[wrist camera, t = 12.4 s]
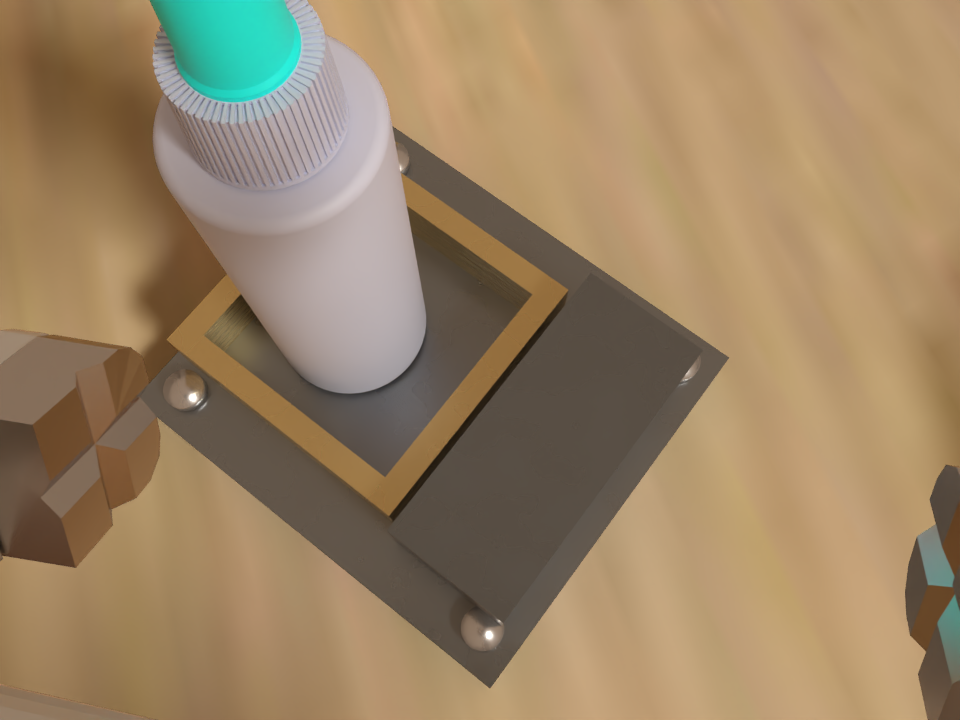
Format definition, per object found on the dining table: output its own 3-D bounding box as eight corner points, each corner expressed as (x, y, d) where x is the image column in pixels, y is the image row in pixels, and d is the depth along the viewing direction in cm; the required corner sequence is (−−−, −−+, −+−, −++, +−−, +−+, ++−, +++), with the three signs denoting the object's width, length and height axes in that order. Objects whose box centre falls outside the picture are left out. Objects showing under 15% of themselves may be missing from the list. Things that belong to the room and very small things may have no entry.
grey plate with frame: (489, 686, 36) (490, 693, 30) (152, 411, 39) (94, 370, 33) (717, 371, 39) (756, 324, 34) (391, 145, 43) (376, 68, 37)
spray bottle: (251, 346, 38) (-46, -32, 17) (337, 233, 39) (165, -245, 18) (371, 425, 37) (216, 127, 16) (455, 306, 38) (417, -111, 17)
